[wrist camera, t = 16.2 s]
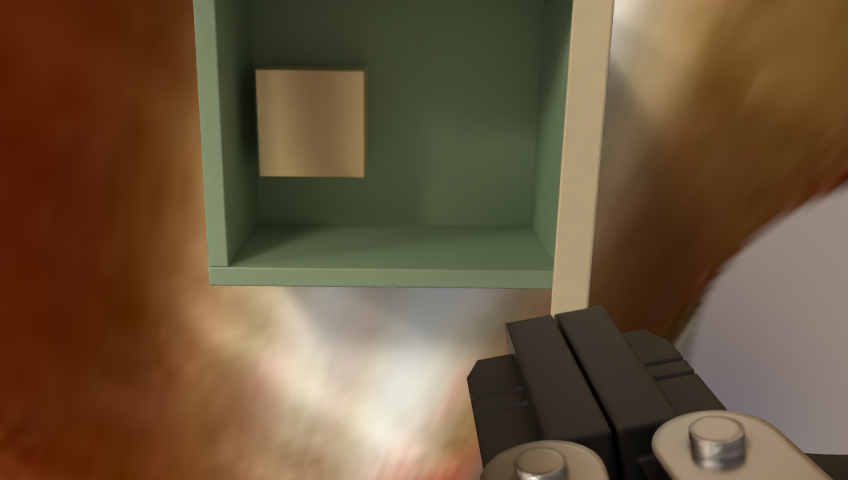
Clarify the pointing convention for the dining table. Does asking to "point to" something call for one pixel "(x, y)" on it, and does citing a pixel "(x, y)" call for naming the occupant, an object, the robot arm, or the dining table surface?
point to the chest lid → (581, 152)
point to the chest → (391, 143)
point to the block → (312, 120)
